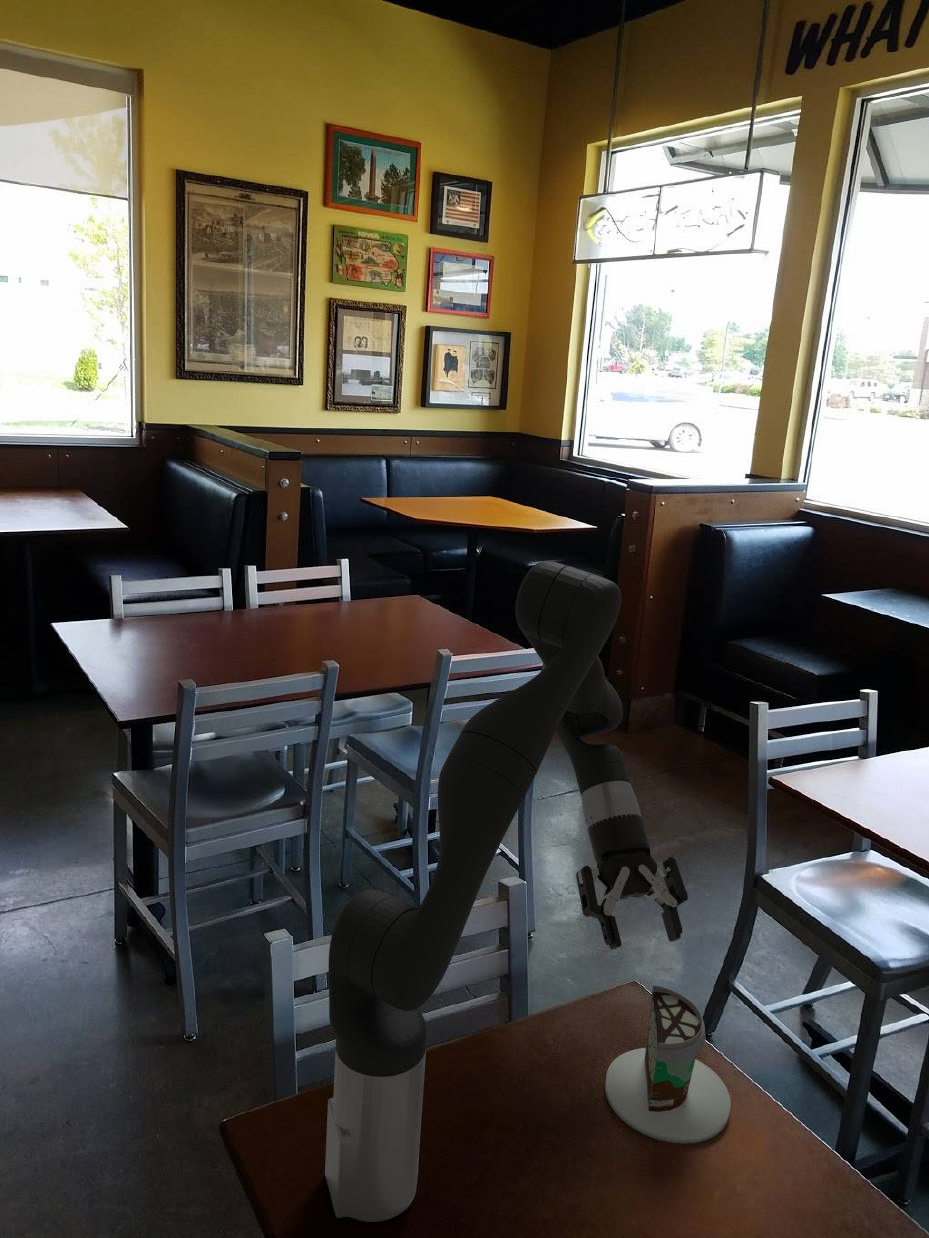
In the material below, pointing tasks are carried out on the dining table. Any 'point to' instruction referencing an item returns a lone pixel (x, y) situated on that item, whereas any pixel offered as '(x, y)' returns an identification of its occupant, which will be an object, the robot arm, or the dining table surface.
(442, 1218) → the dining table surface
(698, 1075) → the serving plate
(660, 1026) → the food container
